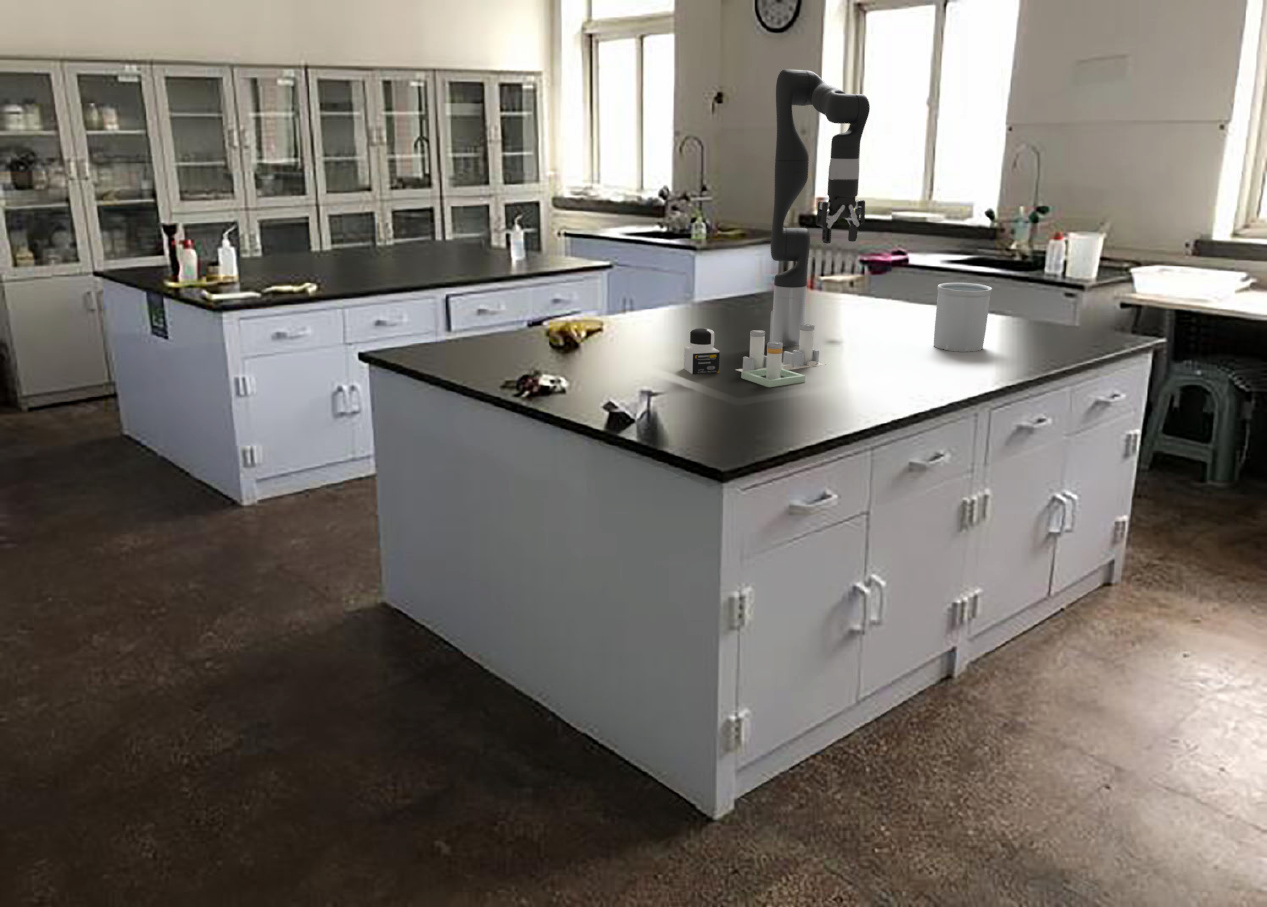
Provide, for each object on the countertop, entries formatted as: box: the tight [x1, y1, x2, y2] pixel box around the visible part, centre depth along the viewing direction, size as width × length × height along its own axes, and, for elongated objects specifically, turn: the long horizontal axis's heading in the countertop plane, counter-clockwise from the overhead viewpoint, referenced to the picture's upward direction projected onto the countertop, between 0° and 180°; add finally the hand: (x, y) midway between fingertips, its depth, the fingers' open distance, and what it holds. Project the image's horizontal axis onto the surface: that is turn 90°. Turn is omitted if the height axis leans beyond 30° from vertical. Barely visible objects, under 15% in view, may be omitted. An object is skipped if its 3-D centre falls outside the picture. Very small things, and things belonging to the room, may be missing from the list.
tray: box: [740, 368, 806, 388], centre depth 254 cm, size 11×11×3 cm
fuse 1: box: [749, 329, 766, 370], centre depth 262 cm, size 4×4×10 cm
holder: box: [735, 348, 827, 372], centre depth 267 cm, size 7×24×5 cm, turn 121°
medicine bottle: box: [683, 327, 721, 375], centre depth 262 cm, size 7×7×12 cm
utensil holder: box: [933, 282, 993, 353], centre depth 297 cm, size 15×15×18 cm
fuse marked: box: [765, 341, 783, 380], centre depth 253 cm, size 4×4×10 cm
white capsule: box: [798, 323, 816, 365], centre depth 270 cm, size 4×4×10 cm
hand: (839, 242), depth 268 cm, fingers open, 8 cm apart
